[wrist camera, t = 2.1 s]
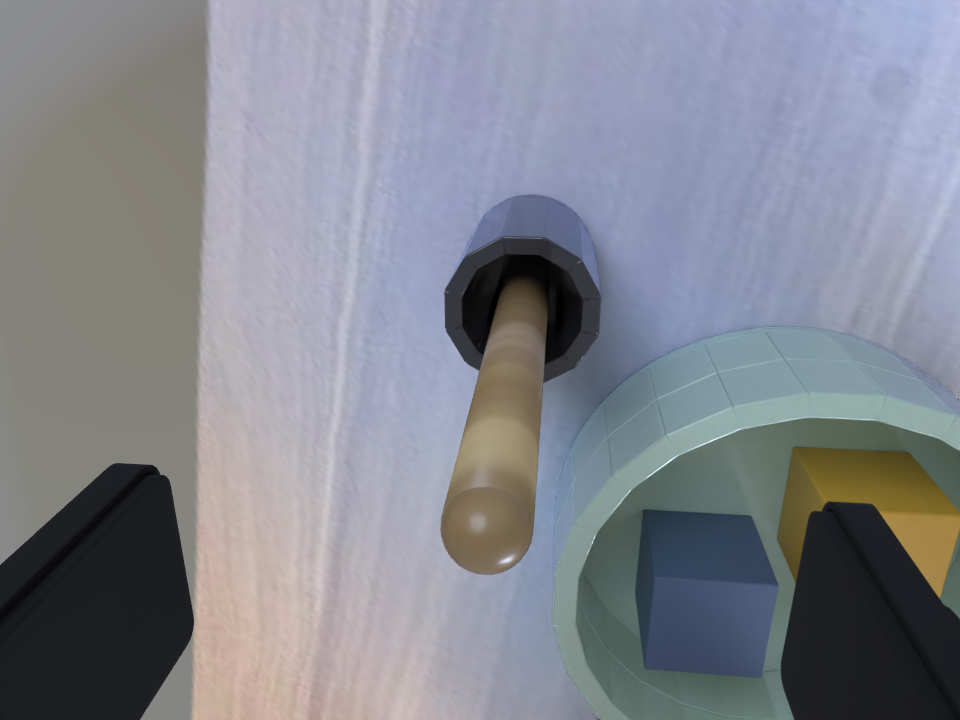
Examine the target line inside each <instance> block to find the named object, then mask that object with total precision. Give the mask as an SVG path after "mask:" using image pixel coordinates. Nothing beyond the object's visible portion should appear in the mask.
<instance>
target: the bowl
mask: <svg viewBox="0 0 960 720" xmlns="http://www.w3.org/2000/svg"><path fill="white" fill-rule="evenodd" d="M794 447H811V448H832V449H852V450H873V451H893V452H909V453H911V455H912V456H913V457H914V458H915V459H916V461H917V462H918V463H919V464H920V465H921V466H922V468H923V469H924V470H925V471H926V472H927V474H928V475H929V476H930V477H931V478H932V480H933V481H934V482H935V483H936V484H937V485H938V487H939V488H940V489H941V490H942V491H943V493H944V494H945V495H946V496H947V497H948V499H949V500H950V501H951V502H952V503H953V505H954V506H955V507H956V508H957V509H958V510H959V512H960V401H959V400H958V399H957V398H956V397H955V396H953V395H952V394H951V393H950V392H949V391H948V390H947V389H946V388H945V387H944V386H942V385H941V384H940V383H939V382H938V381H937V380H935V379H933V378H932V377H930V376H929V375H927V374H926V373H924V372H923V371H922V370H920V369H919V368H918V367H916V366H915V365H913V364H912V363H911V362H909V361H908V360H907V359H905V358H903V357H901V356H899V355H897V354H895V353H893V352H891V351H890V350H888V349H886V348H884V347H882V346H880V345H877V344H874V343H871V342H869V341H866V340H863V339H860V338H857V337H855V336H851V335H847V334H842V333H838V332H833V331H829V330H824V329H814V328H803V327H761V328H754V329H747V330H740V331H733V332H728V333H725V334H721V335H717V336H713V337H709V338H706V339H702V340H699V341H697V342H694V343H692V344H689V345H686V346H684V347H681V348H679V349H676V350H674V351H672V352H670V353H668V354H666V355H664V356H662V357H661V358H659V359H657V360H655V361H653V362H651V363H649V364H648V365H646V366H645V367H643V368H642V369H640V370H639V371H638V372H636V373H635V374H633V375H632V376H631V377H629V378H628V379H626V380H625V381H624V382H623V383H621V384H620V385H619V386H618V387H617V388H616V389H615V390H614V391H613V392H612V393H610V394H609V395H608V396H607V397H606V398H605V399H604V400H603V401H602V402H601V404H600V405H599V406H598V407H597V408H596V410H595V411H594V412H593V413H592V414H591V415H590V417H589V418H588V419H587V420H586V422H585V424H584V425H583V427H582V428H581V430H580V432H579V433H578V435H577V436H576V438H575V439H574V441H573V443H572V446H571V448H570V450H569V452H568V455H567V457H566V459H565V461H564V464H563V468H562V471H561V475H560V478H559V482H558V486H557V491H556V500H555V522H554V552H553V594H552V626H553V630H554V633H555V636H556V640H557V643H558V647H559V650H560V654H561V657H562V661H563V664H564V668H565V670H566V673H567V674H568V676H569V677H570V679H571V680H572V682H573V683H574V685H575V686H576V688H577V689H578V691H579V692H580V694H581V695H582V697H583V698H584V700H585V701H586V703H587V704H588V706H589V707H590V709H591V710H592V712H594V714H595V715H596V716H597V717H598V718H599V719H600V720H794V718H793V715H792V712H791V709H790V706H789V703H788V701H787V698H786V695H785V692H784V689H783V685H782V680H781V658H782V653H783V648H784V643H785V637H786V632H787V627H788V622H789V617H790V611H791V606H792V601H793V596H794V590H795V585H796V583H795V581H794V578H793V576H792V574H791V571H790V569H789V567H788V564H787V562H786V559H785V557H784V555H783V552H782V550H781V548H780V545H779V543H778V541H777V533H778V528H779V522H780V517H781V511H782V506H783V500H784V495H785V489H786V484H787V478H788V473H789V467H790V462H791V456H792V451H793V448H794ZM644 509H647V510H664V511H681V512H698V513H716V514H733V515H750V516H752V518H753V521H754V523H755V526H756V528H757V531H758V534H759V536H760V539H761V541H762V544H763V546H764V549H765V551H766V554H767V556H768V559H769V561H770V564H771V567H772V569H773V572H774V574H775V577H776V579H777V582H778V584H779V588H778V593H777V599H776V604H775V609H774V615H773V620H772V625H771V631H770V636H769V641H768V646H767V652H766V657H765V662H764V668H763V673H762V677H761V678H753V677H740V676H727V675H714V674H701V673H689V672H676V671H663V670H650V669H645V668H644V661H643V653H642V645H641V637H640V629H639V622H638V614H637V606H636V598H635V588H636V577H637V567H638V557H639V547H640V537H641V526H642V516H643V510H644ZM940 600H941V601H942V603H943V604H944V605H945V606H947V607H949V608H950V609H951V610H952V611H953V612H954V613H955V614H956V615H957V616H958V617H959V619H960V532H959V535H958V539H957V542H956V545H955V549H954V552H953V556H952V559H951V563H950V566H949V569H948V573H947V576H946V580H945V583H944V586H943V590H942V593H941V597H940Z"/></svg>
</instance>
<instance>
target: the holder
mask: <svg viewBox="0 0 960 720" xmlns="http://www.w3.org/2000/svg"><path fill="white" fill-rule="evenodd" d="M511 255H539V256H541V257H543V258H544V259H546V260H548V261H549V262H551V270H550V285H549V301H548V316H547V331H546V346H545V361H544V377H543V383H544V382H546V381H548V380H550V379H553V378H555V377H557V376H559V375H561V374H563V373H565V372H567V371H569V370H572V369H574V368H575V367H576V366H577V365H578V364H579V363H580V361H581V360H582V358H583V357H584V355H585V354H586V353H587V351H588V350H589V348H590V347H591V346H592V344H593V343H594V341H595V340H596V338H597V337H598V334H599V325H600V309H601V292H600V285H599V278H598V271H597V264H596V257H595V250H594V244H593V242H592V240H591V238H590V235H589V233H588V230H587V228H586V226H585V225H584V223H583V221H582V220H581V219H580V217H579V216H578V215H577V214H576V213H575V212H574V211H573V210H572V209H571V208H569V207H568V206H566V205H565V204H563V203H561V202H560V201H558V200H555V199H553V198H550V197H546V196H541V195H522V196H516V197H513V198H510V199H507V200H505V201H503V202H501V203H499V204H498V205H496V206H495V207H493V208H492V209H491V210H490V211H489V212H487V213H486V214H485V215H484V216H483V217H482V219H481V221H480V222H479V224H478V226H477V228H476V229H475V231H474V233H473V235H472V236H471V238H470V240H469V242H468V244H467V246H466V248H465V250H464V252H463V254H462V256H461V258H460V260H459V262H458V264H457V266H456V268H455V270H454V272H453V274H452V276H451V278H450V280H449V282H448V284H447V286H446V289H445V292H444V298H445V328H446V332H447V333H448V335H449V337H450V338H451V340H452V342H453V343H454V345H455V346H456V348H457V350H458V351H459V353H460V355H461V356H462V358H463V359H464V361H465V362H467V364H468V365H470V366H472V367H474V368H475V369H477V370H479V371H480V368H481V364H482V360H483V356H484V353H485V349H486V345H487V341H488V337H489V333H490V330H491V326H492V322H493V318H494V314H495V311H496V307H497V303H498V299H499V295H500V291H501V288H502V284H503V280H504V276H505V272H506V269H507V265H508V261H509V258H510V256H511Z"/></svg>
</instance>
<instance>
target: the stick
mask: <svg viewBox="0 0 960 720" xmlns="http://www.w3.org/2000/svg"><path fill="white" fill-rule="evenodd" d="M550 270H551V262H549V261H548V260H546V259H544V258H543V257H541V256H539V255H511V256H510V258H509V261H508V265H507V269H506V272H505V276H504V280H503V284H502V288H501V291H500V295H499V299H498V303H497V307H496V311H495V314H494V318H493V322H492V326H491V330H490V333H489V337H488V341H487V345H486V349H485V353H484V356H483V360H482V364H481V368H480V372H479V375H478V379H477V383H476V387H475V391H474V395H473V398H472V402H471V406H470V410H469V414H468V417H467V421H466V425H465V429H464V433H463V437H462V440H461V444H460V448H459V452H458V456H457V459H456V463H455V467H454V471H453V475H452V479H451V482H450V486H449V490H448V494H447V498H446V501H445V505H444V509H443V513H442V517H441V528H440V530H441V537H442V541H443V544H444V547H445V549H446V551H447V552H448V554H449V555H450V557H451V558H452V559H453V560H454V561H455V562H456V563H457V564H458V565H459V566H461V567H462V568H464V569H466V570H468V571H470V572H473V573H476V574H482V575H493V574H499V573H502V572H504V571H507V570H508V569H510V568H512V567H513V566H515V565H516V564H517V563H518V562H519V561H520V560H521V559H522V558H523V556H524V555H525V554H526V552H527V550H528V549H529V546H530V544H531V540H532V536H533V528H534V513H535V498H536V483H537V468H538V452H539V437H540V422H541V407H542V392H543V377H544V361H545V346H546V331H547V316H548V301H549V285H550Z"/></svg>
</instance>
